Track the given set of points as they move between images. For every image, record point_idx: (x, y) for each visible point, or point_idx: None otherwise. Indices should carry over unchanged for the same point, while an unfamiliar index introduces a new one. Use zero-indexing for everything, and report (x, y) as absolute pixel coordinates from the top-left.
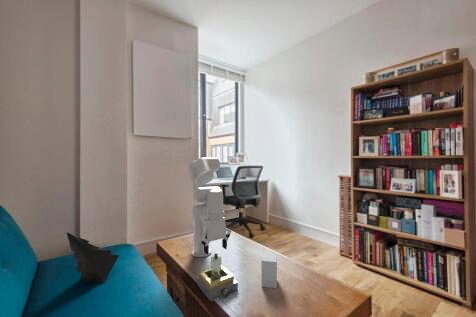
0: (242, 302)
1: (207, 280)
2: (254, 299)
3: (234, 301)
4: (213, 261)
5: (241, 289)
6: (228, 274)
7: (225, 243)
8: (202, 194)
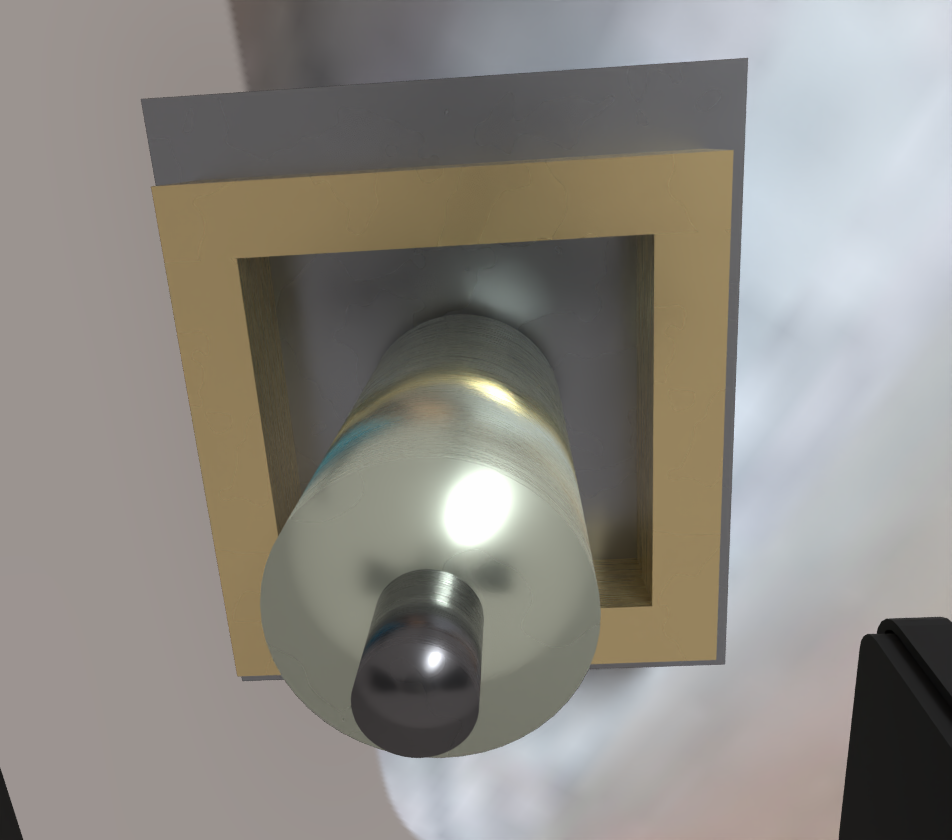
0: (609, 789)
1: (221, 557)
2: (760, 815)
3: (538, 734)
4: (307, 682)
5: (750, 596)
6: (651, 580)
7: None
8: None
